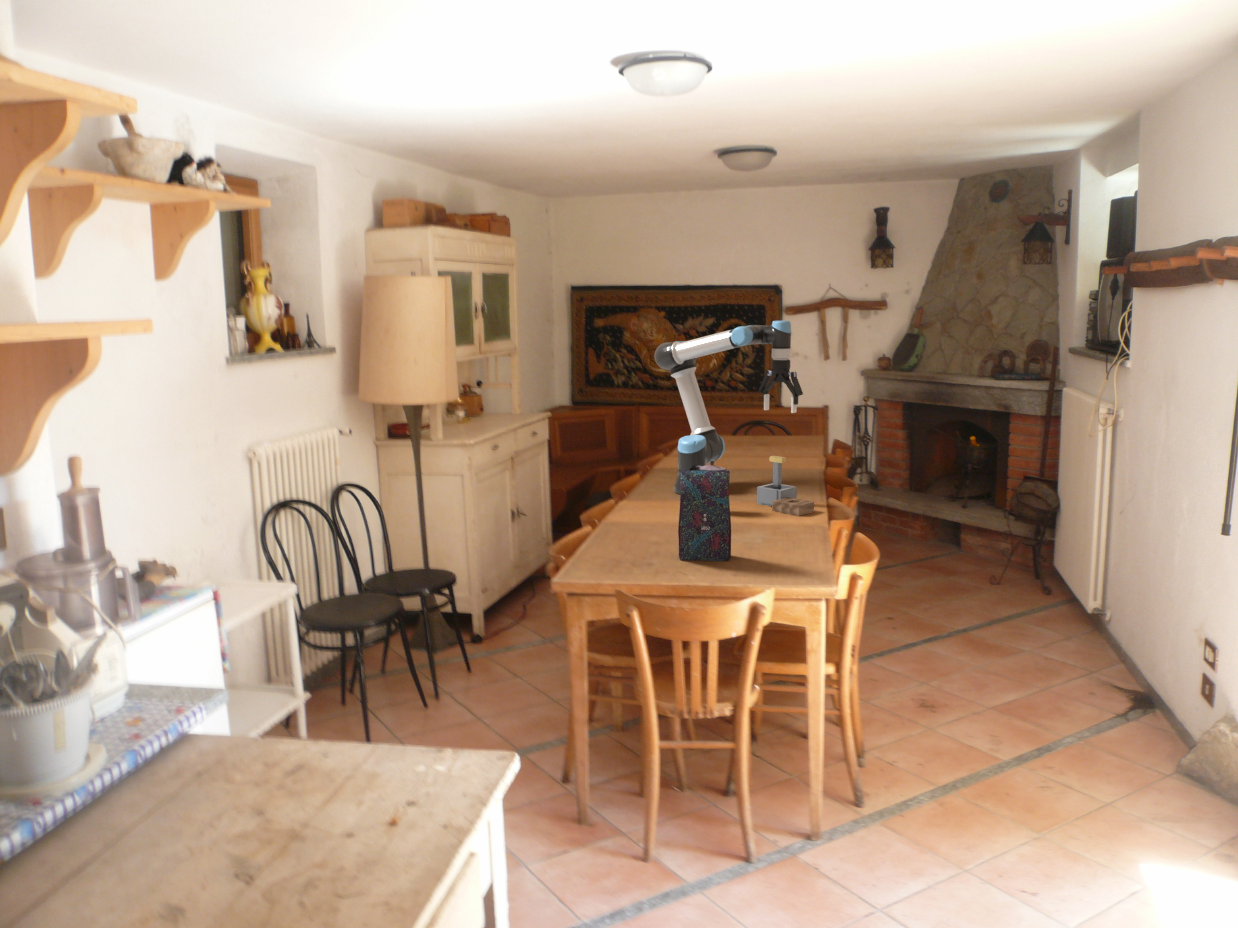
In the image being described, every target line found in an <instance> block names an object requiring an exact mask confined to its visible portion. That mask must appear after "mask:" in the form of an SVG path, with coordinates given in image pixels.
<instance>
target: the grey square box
mask: <svg viewBox="0 0 1238 928" xmlns="http://www.w3.org/2000/svg"><path fill="white" fill-rule="evenodd" d="M797 489H798V487H797V486H794V485H789V484H784V483H783V484H782V483H781V489H780V490H778V489H773V482H772V483H769V484H764V485H759V486H756V502H757V505H758V504H760V506H764V505H768V506H767V507H769V506H773V501H775V500H779V499H783V498H787V497H790V498H796V499H798V497H797V496H798V495H797V494H798V492H797Z"/></svg>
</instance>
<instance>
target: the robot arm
mask: <svg viewBox="0 0 1238 928" xmlns="http://www.w3.org/2000/svg"><path fill="white" fill-rule="evenodd" d="M791 341H792V323H791V321H790V320H773V321H772V323H771V324H770V325H764V324H763V325H760V324H751V325H746V326H745V325H741V326H737V327H735V328H733V329H729V330H725V331H724V330H723V331H721V332H716V333H713V334H709V335H705V336H701V337H698V338H694V339H691V340H689V339H688V340H686V341H682V340H678V341H671V342H662V343H661V344H660V345H658V347H656V350H655V351H654V361H655V363H656V364H657V366H658V368H660V369H663V370H667V371H669V374H670V377H671V378H674V379H675V382H676V386H677V388H678V392H679V395H680V398H681V401H682V404H683V408H684V411H685V413H686V417H687V420H688V424H689V427H690V431H691V432H690V433H689V434H690V435H684V436H682V437H680V438H679V439H678V444H677V476H676V480H675V483H674V486H673V492H674V493H675V494H677V495H678V494H679V495H680V472H681V470H689V469H690V468H691V467H692V466H693V465H696V466H706V465H708V464H710V461H714V462H716V461H718V460H720V459H721V458H722V457H723V456H724V453H725V451H726V443H725V440H724V438H723V437H722V436H721V435H719V434H718V432H717V430H716V427H714V426H713V425H712V424H711V423H710V419H709V415H708V413H707V410H706V406H705V402H704V398H703V397H702V393H701V390H700V386H699V384H698V379H697V377H696V373H695V372H696V369H697V365H696V361H697V358H701V357H705V356H709V355H712V354H716V353H720V352H724V351H729V350H733V349H736V348H742V347H744V346H751V345H771V370H769V369H767V370H765V373H764V377H763V380H762V382H761V384H760V386H759V388H758V393H761V394H762V403H763V411H769V410H770V394H769V392H770V391H771V389H772V388H773V386H774V385H775V384H776V383H784V384H785V386H786V387H787V389H788V390H789V392H790V394H791V395H792V396H791V397H790V403H791V404H790V413H791V414H795V413H797V411H798V410H797V408H798V407H797V406H798V405H799V397H800V396H802V395H804V392H803V389H802V388H801V385H800V381H799V379H798V377H797V376H798V374H797V372H796V371H791V370H790V369H791V360H790V358H791V353H792V352H791V350H792V347H791V343H792V342H791ZM771 376H772V377H771ZM693 470H694V469H693Z"/></svg>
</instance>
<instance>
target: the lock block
mask: <svg viewBox="0 0 1238 928" xmlns="http://www.w3.org/2000/svg"><path fill="white" fill-rule="evenodd" d="M773 511H775V512H774V513H778V512H780V514H784V513H785V515H789V514H791V516H795V517H800V516H804V515H805V516H806V515H809V514H812V513H814V512H815V501H812V500H807V499H801V498H797V499H796V498H790V497H787V498H783V499H779V500H775V501H773V507H772V512H773ZM811 512H812V513H811Z"/></svg>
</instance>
